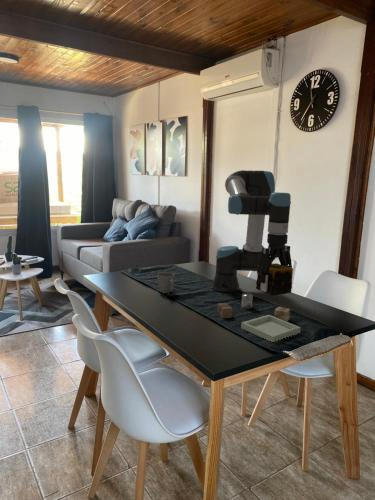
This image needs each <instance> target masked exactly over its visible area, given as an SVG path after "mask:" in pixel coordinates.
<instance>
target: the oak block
mask: <svg viewBox="0 0 375 500" xmlns="http://www.w3.org/2000/svg"><path fill="white" fill-rule="evenodd" d="M290 309H291V308H286V307H282V306H278V307H276V308H275V309H274V315H273V317H276V318H278V319H281V320H283V321H286V322H289V320H290V315H291V314H290V311H291V310H290Z"/></svg>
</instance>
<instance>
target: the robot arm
mask: <svg viewBox="0 0 375 500" xmlns="http://www.w3.org/2000/svg"><path fill="white" fill-rule="evenodd" d="M224 187H225V191H226V192H227V193H228V194H229V197H228V200H227V201H228V203H227V212H228V213H229V215H243V216H244V215H246V216H247V215H248V216H247V227H246V238H245V239H246V240H245V243H244V244H243V245H242V248H239V246H236V245H227V246H221V247H219V248H217V250H216V255H215V258H216V259H215V274H214V277H213V281H212V283H211V289H212V288H213V289H212V290H214V291H216V292H220V291H221V293H235V292H238V291H239V290H240V283H239V279H238V271H242V272H245V271H247V272H256V274H257V273H259V274H260V275H261V278H260V283H261V288H260V290H261V291H260V290H259V291H260V292H262V291H264V292H267V285H268V275H267V273H268V271H269V268H270V266H271V264H273V262H274V260H276V259H277V258H278V260H279V261H278V262H279V263H280V265H284V266H287V267H290V268H293V265H292V264H293V263H292V258H291V257H292V256H291V245H287V244H288V237H289V236H288V233H289V222H290V211H291V204H292V202H291V197H292V196H291V194H290V193H289V192H276V185H275V176H274V174H273V172H271V171H268V170H246V169H245V170H243V169H242V170H237V171H235V172H232V173H231V174H230V175H228V177H227V178H226V179H225V183H224ZM266 216H268V223H267V225H268V226H267V236H266V237H267V239H266V243H268V247H265V246H264V245H263V238H264V232H265V230H264V229H265V221H266ZM260 270H261V271H260ZM264 271H265V272H264ZM264 292H263V293H264Z"/></svg>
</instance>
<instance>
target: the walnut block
mask: <svg viewBox="0 0 375 500" xmlns="http://www.w3.org/2000/svg"><path fill="white" fill-rule="evenodd" d="M217 312H218V313H219V314H218V313H217V314H218V315H219V316H220V317H221V319H231V318H232V317H233V308H232V306H231V305H229V304H228V302H223V303H222V302H220V303H217Z"/></svg>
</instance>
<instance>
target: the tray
mask: <svg viewBox="0 0 375 500" xmlns="http://www.w3.org/2000/svg"><path fill="white" fill-rule="evenodd" d="M240 326H241V327H240V328H241V329H242V330H244V331H247V332H249V333H251V334H253V335H255V336H257V337H259V338H261V339H263V338H264V339H263V340H265V339H266V340H265V341H267V342H270V341H271V342H270V343H272V342H274V343H276V342H279V341H281V339H282V340H284V339H283V338H285V339H287V338H286V337H288V338H290V337H292V335H293V336H297V335H298V333H299V334H300V333H301V326H298V325H296V324H293V323H290V322H289V321H287V322H286V321H283V320H281V319H278V318H276V317H274V315H270V314H267V315H262V316H259V317H257V318H252V319H250V320H246V321H241V325H240ZM289 336H290V337H289ZM278 340H279V341H278ZM275 341H276V342H275Z"/></svg>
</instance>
